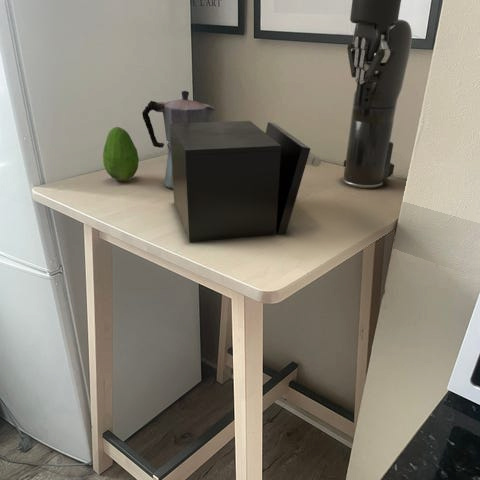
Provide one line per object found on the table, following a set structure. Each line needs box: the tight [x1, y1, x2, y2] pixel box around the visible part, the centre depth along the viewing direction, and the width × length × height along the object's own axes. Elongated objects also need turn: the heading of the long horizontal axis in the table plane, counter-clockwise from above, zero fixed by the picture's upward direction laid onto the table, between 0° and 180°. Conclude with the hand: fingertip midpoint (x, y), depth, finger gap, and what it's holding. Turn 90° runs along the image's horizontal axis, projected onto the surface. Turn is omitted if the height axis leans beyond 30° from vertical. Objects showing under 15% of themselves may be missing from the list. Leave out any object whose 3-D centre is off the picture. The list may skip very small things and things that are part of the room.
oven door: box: [265, 121, 322, 236], centre depth 96 cm, size 5×20×16 cm, turn 14°
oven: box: [170, 120, 281, 244], centre depth 93 cm, size 16×20×16 cm
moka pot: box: [141, 90, 216, 190], centre depth 108 cm, size 10×15×20 cm, turn 107°
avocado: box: [102, 126, 140, 182], centre depth 113 cm, size 8×8×12 cm
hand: (361, 107), depth 87 cm, fingers closed
